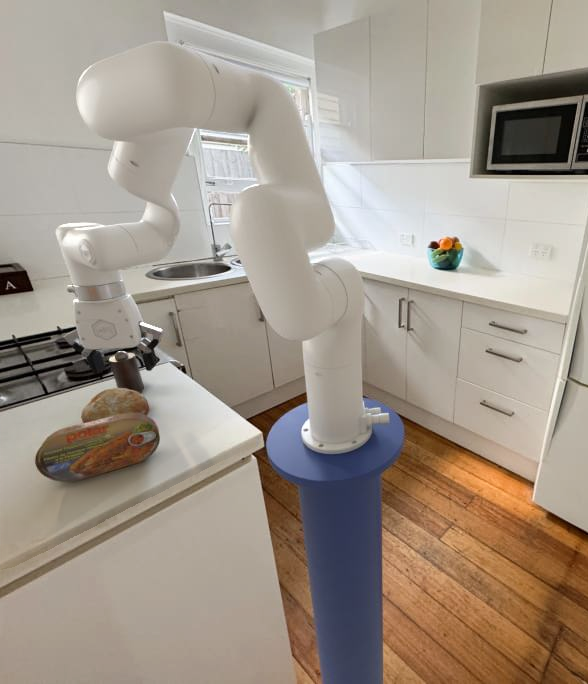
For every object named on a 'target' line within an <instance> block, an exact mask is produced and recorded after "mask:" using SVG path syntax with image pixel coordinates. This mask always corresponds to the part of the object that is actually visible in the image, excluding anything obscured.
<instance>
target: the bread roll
mask: <svg viewBox="0 0 588 684" xmlns="http://www.w3.org/2000/svg"><path fill="white" fill-rule="evenodd" d="M124 413H140V414H144V415H146V416H148V415H149V413H150V404H149V401H148V399H147V398H146V396H145V395H144V394H143V393H141V392H137V391H134V390H129V389H126V388H118V387H113V388H108V389H105V390H102V391H100V392H99V393H97V394H96V395H95V396H93V397H92V398H91V399H90V401H89V402H88V403H87V404H86V405H85V406H84V408H83V409H82V411H81V416H80V418H81V421H82V423H87V422H91V421H95V420H99V419H103V418H107V417H111V416H115V415H119V414H124Z"/></svg>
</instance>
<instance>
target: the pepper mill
mask: <svg viewBox="0 0 588 684" xmlns="http://www.w3.org/2000/svg"><path fill="white" fill-rule="evenodd" d="M108 363H109V365H110V369H111V371H112V375H113V378H114V381H115V383H116V388H126V389H129V390H134V391H137V392H139V393H141V392H143V391H144V390H145V385H144V382H143V378H142V375H141V371H140V368H139V364H138V361H137V358H136V354H135V353H133V352H126V351H124V350H120V351H119V350H118V351H117V352H116V353H115V354H114V355H112V356H110V357H109V358H108Z"/></svg>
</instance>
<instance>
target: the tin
mask: <svg viewBox="0 0 588 684" xmlns="http://www.w3.org/2000/svg"><path fill="white" fill-rule="evenodd" d="M160 440H161V435H160V429H159V426H158V424H157V423H156V421H155V420H154V419H153V418H152V417H150V416H148V415H147V416H146V415H144V414H140V413H124V414H119V415H115V416H111V417H107V418H103V419H99V420H95V421H91V422H87V423H83V422H82V423H79V424H75V425H70V426H67V427H63V428H60V429H58V430H56V431H54V432H53V433H51V434H50V435H48V436H47V438H45V440H43V442H42V444H41V446H40V447H39V448H38V449H37V451H36V453H35V456H34V464H35V467H36V469H37V470H38V472H39V473H40V474H41V475H42V476H44V477H46V478H47V479H49V480H51V481H54V482H55V481H56V482H61V483H72V482H79V481H82V480H85V479H89V478H92V477H95V476H99V475H102V474H105V473H108V472H112V471H115V470H119V469H123V468H125V467H130V466H132V465H136V464H139V463H141V462H144V461H145V460H147V459H148V458H150V457H151V456H152V455H153V454H154V453H155V452H156V450H157V449H158V447H159V445H160V442H161V441H160Z"/></svg>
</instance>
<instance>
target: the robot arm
mask: <svg viewBox="0 0 588 684" xmlns="http://www.w3.org/2000/svg"><path fill="white" fill-rule="evenodd" d="M76 85H77V86H76V89H75V90H76V92H75V93H76V94H75V100H76V101H75V102H76V107H77V109H78V112H79V115H80V117H81V119H82V120H83V122H84V123H85V125H86V126H87V128H88V129H90V130H91V131H92V132H93V133H94V134H96V135H98V137H101V138H103V139H105V140H108V141H113V142H114V143H113V146H112V149H111V152H110V156H109V159H108V163H107V171H108V175H109V177H110V179H111V180H112V181H113V182H114V183H115V184H116V185H117V186H118V187H119V188H121V189H122V190H124V191H125V192H127V193H129V194H130V195H132V196H134V197H136V198H138V199H141V200H143V201H145V202H146V206H145V209H144V212H143V215H142V218H141V219H140V221H135V222H134V221H133V222H125V223H115V224H114V223H113V224H110V225H103V224H101V223H97V222H74V223H66V224H65V223H64V224H61V225H59V226H57V227H56V229H55V237H56V240H57V243H58V245H59V249H60V252H61V254H62V258H63V260H64V263H65V266H66V269H67V272H68V274H69V278H70V281H71V285H67V287H66V291H67V292H68V293H73V294H74V295H75V299H73V300H72V309H73V318H74V323H75V328H76V329H74V330H72V331H70V332H68V333H67V334H65V335H63V340H64V341H65V342H67V343H68V344H69V345H70V346H71V348H72V349H73V350H75V351H77V352H78V353H80V354H81V356H82V357H84V358H86V360H87V363H88V366H89V369H91V371H92V374H93V375H98V374H100V373H101V372H102V371H103V370H105V369H106V364H105V362H104V359H103V356H102V352H101V350H117V349H131V348H135V347H136V348H137V349H139V350H140V351H142V354H141V356H142V360H143V363H144V366H145V370H146V371H147V372H149V371H150V372H151V371H152V370H153V369H154V368H155V367H156V366H157V363H158V359H157V356H156V352H155V348H156V347H157V346H158V345H159V344H160V343H161V342H162V338H163V335H164V329H162V328H160V327H156V326H154V325H151V324H148V323H145V322H144V320H143V317H142V315H141V312H140V309H139V307H138V305H137V303H136V301H135V300H134V298H133V296H132V295H131V294H130V293H127V290H126V286H125V283H124V279H123V276H122V272H121V270H124V269H129V268H132V267H137V266H141V265H146V264H151V263H155V262H159V261H161V260H163V259H164V258H166V257H167V256H168V255H169V254H170V252H171V251H172V249H173V247H174V245H175V242H176V240H177V238H178V236H179V233H180V230H181V214H180V210H179V206H178V203H177V201H176V199H175V197H174V195H173V193H172V191H173V188H174V185H175V183H176V181H177V179H178V176H179V173H180V170H181V167H182V165H183V163H184V160H185V158H186V155H187V153H188V150H189V147H190V146H191V145H190V144H191V143H192V140H193V137H194V134H195V133H196V130H197V129H198V130H204V131H210V132H219V133H227V134H237V135H247V136H248V138H247V153H248V159H249V164H250V166H251V170H252V172H253V174H254V176H255V178H256V182H257V184H253V185H250V186H247V187H245V188H244V189H242V190H241V191H239V193H237V195H236V196H235V197H234V198H233V201H232V203H231V206H230V209H229V215H228V217H229V218H228V225H229V233H230V237H231V240H232V244H233V247H234V249H235V252H236V254H237V256H238V259H239V260H240V264H241V266H242V268H243V271H244V273H245V275H246V278H247V280H248V283H249V285H250V287H251V289H252V292H253V294H254V297H255V299H256V302H257V304H258V306H259V308H260V311H261V312H262V315H263V316H264V318H265V320H266V322H267V323H268V325H269V326H270V327H271V328H272V330H274V331H275V332H276V333H277V334H278V335H279V336H281V337H282V338H284V339H286V340H289V341H291V342H298V343H299V342H301V344H302V345H301V347H302V348H301V349H302V357H303V370H304V379H305V390H306V402H307V403H308V411H309V419H308V420H307V421H306V422H305V424H304V425H303V427H302V432H301V434H302V440H303V442H304V444H305V445H306V446H307V447H308V448H310V449H311V450H313V451H316V452H318V453H323V454H341V453H346V452H350V451H353V450H355V449H357V448H359V447H360V446H362V445H363V444H365V443H366V442H367V441H368V439H369V438H370V436H371V434H372V425H375V424H389V413H382V414H381V409H380V408H373V409H368V408H365V406H364V401H363V398H364V397H363V396H364V395H363V394H364V393H363V391H364V390H363V362H362V361H363V359H362V358H363V357H362V354H363V353H362V352H363V350H362V348H363V347H362V327H363V316H364V309H365V296H366V293H365V284H364V280H363V278H362V275H361V273H360V271H359V270H358V269H357V267H356V266H355V265H354V264H353V263H351V262H350V261H348V260H346V259H344V258H342V257H338V256H337V257H336V256H326V257H322V258H318V259H315V260H312V261H311V259H310V256H309V253H311V252H314V251H316V250H319V249H321V248H323V247H325V246H326V245H327V244H328V243H329V242H330V241H331V240H332V238H333V237H334V234H335V229H336V225H335V224H336V223H335V222H336V221H335V217H334V213H333V210H332V207H331V204H330V201H329V197H328V195H327V192H326V189H325V186H324V183H323V180H322V177H321V174H320V171H319V167H318V165H317V161H316V159H315V157H314V155H313V152H312V149H311V146H310V145H311V144H310V143H309V140H308V136H307V133H306V129H305V126H304V123H303V118H302V115H301V112H300V109H299V106H298V104H297V102H296V100H295V97H294V95H293V94H292V92H291V91H290V90H289V88H287V86H286V85H284V83H283V82H281V81H280V80H279V79H278V78H277V77H274V76H273V75H271V74H268V73H266V72H262V71H259V70H256V69H252V68H249V67H245V66H241V65H240V64H236V63H233V62H230V61H228V60H225V59H223V58H221V57H220V58H219V57H216V56H213V55H210V54H208V53H206V52H203V51H200V50H198V49H195V48H192V47H189V46H187V45H184V44H180V43H177V42H172V41H166V40H165V41H164V40H159V41H156V40H155V41H151V42H147V43H145V44H144V43H143V44H140V45H138V46H135V47H133V48H130V49H128V50H125V51H122V52H119V53H116V54H114V55H110V56H108V57H105V58H103V59H101V60H98V61H96V62H95V63H93V64H91V65H89V66H88V67H87V68H86V70H84V71H83V73H82V74H81V76H80V77H79V80H78V82H77V84H76ZM148 334H150V335H152V340H150V339H149V338H148Z"/></svg>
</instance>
